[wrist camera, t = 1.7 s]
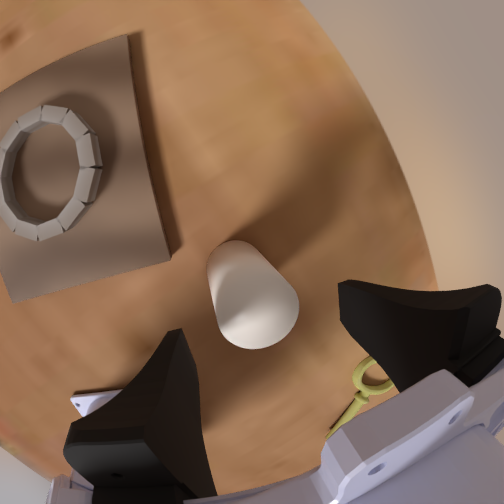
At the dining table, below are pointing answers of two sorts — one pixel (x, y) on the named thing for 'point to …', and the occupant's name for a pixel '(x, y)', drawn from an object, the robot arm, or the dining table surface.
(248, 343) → the white rounded capsule
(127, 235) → the socket board
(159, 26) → the dining table surface
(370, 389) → the key
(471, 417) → the robot arm
